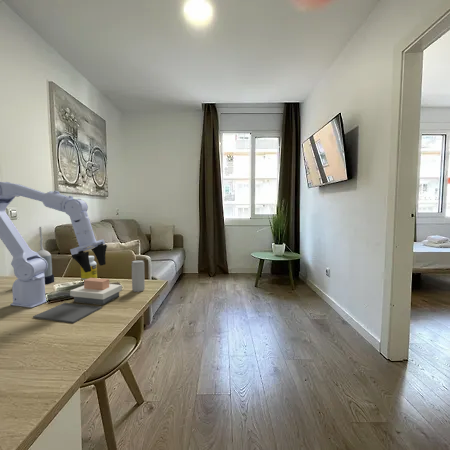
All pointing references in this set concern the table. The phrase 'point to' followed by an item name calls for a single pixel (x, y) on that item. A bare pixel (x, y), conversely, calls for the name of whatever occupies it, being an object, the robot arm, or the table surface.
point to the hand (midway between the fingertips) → (95, 268)
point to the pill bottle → (92, 273)
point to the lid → (96, 289)
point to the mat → (67, 312)
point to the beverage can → (138, 276)
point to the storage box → (96, 301)
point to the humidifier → (47, 256)
